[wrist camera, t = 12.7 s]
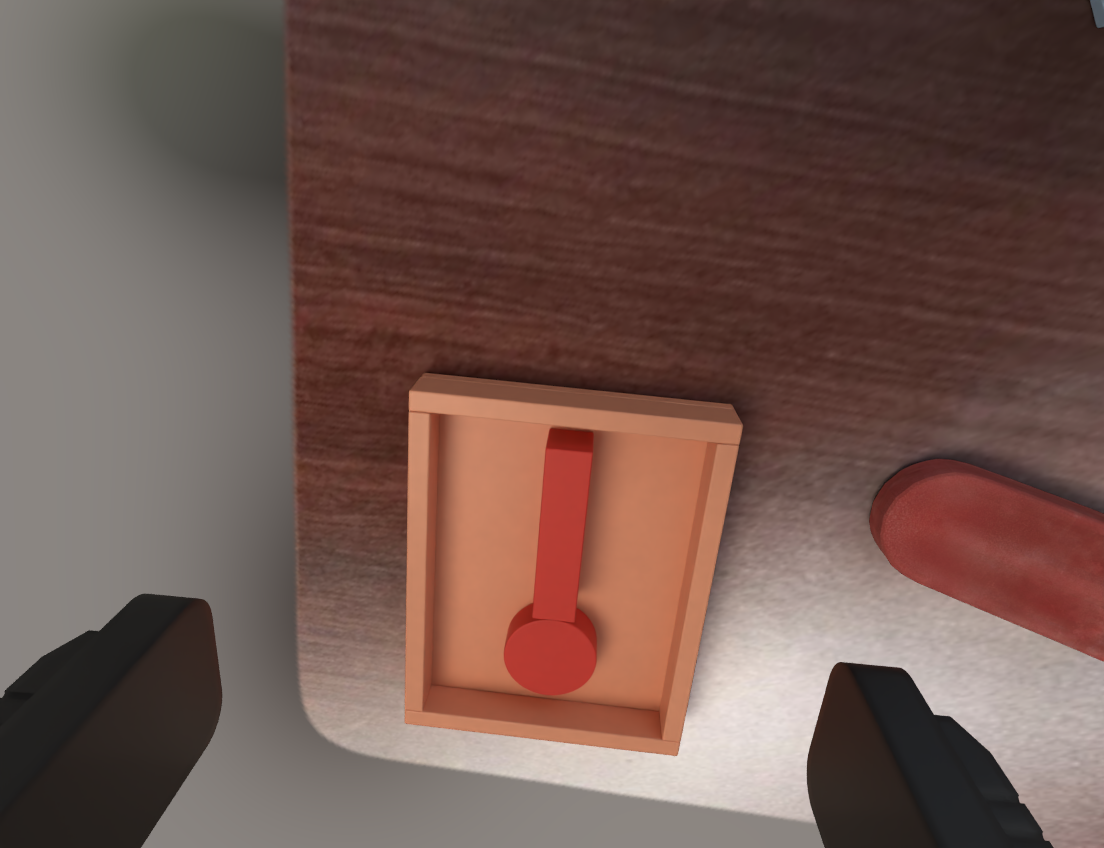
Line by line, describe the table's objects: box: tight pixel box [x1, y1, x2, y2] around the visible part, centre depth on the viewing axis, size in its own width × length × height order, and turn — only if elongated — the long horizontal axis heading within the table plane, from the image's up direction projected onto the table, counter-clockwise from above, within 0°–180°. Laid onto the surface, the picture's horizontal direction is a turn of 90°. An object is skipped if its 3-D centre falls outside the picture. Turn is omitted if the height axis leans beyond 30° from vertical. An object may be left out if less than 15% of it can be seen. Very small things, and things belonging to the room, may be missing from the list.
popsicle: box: [869, 459, 1104, 661], centre depth 24 cm, size 4×2×15 cm
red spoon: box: [504, 428, 597, 695], centre depth 24 cm, size 10×3×2 cm, turn 176°
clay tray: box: [405, 373, 743, 756], centre depth 25 cm, size 13×10×2 cm
